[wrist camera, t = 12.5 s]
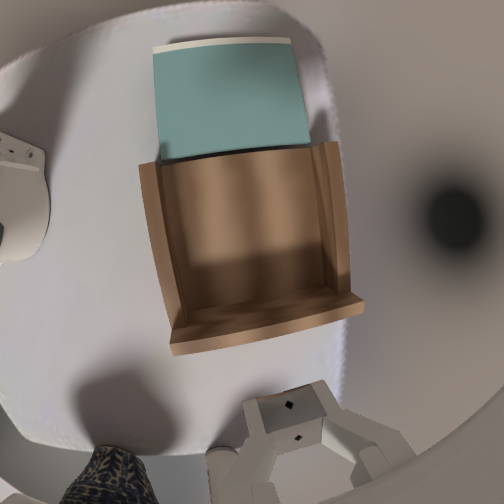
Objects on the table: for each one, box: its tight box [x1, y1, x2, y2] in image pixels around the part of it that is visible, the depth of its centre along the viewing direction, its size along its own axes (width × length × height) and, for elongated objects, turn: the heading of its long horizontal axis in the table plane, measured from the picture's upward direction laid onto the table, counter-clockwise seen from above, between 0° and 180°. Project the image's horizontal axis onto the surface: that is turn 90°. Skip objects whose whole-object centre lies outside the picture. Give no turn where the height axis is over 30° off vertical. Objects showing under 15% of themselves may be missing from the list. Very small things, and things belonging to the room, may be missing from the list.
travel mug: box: [205, 447, 238, 504], centre depth 31 cm, size 6×7×20 cm
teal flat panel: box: [153, 37, 311, 161], centre depth 26 cm, size 16×1×14 cm
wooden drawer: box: [138, 142, 364, 356], centre depth 28 cm, size 20×18×10 cm
